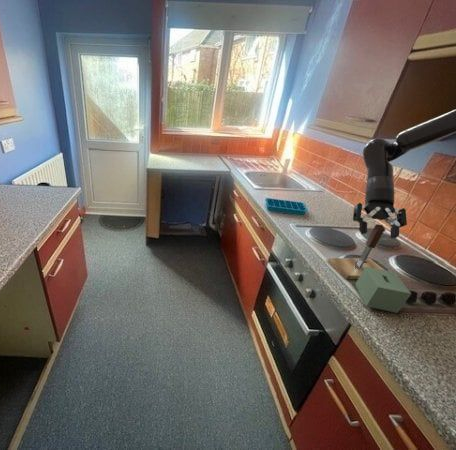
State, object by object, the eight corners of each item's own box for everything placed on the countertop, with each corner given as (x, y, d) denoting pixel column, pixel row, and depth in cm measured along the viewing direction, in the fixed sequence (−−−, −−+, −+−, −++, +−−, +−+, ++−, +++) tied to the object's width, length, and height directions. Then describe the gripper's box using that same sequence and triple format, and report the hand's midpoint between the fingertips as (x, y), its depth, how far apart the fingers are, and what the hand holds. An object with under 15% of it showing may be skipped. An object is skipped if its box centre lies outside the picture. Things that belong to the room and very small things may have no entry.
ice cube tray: (263, 202, 144) (265, 197, 142) (302, 207, 139) (303, 202, 137) (265, 210, 134) (266, 205, 132) (306, 216, 129) (308, 211, 127)
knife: (354, 263, 93) (375, 224, 84) (360, 264, 92) (382, 224, 84) (357, 267, 91) (379, 227, 82) (362, 268, 90) (385, 228, 82)
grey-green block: (354, 284, 85) (364, 266, 81) (382, 290, 83) (394, 271, 79) (366, 306, 77) (378, 287, 73) (397, 313, 75) (411, 293, 71)
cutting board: (367, 261, 97) (369, 257, 96) (389, 278, 88) (391, 275, 87) (327, 261, 96) (329, 258, 95) (346, 278, 87) (347, 275, 87)
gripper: (396, 198, 89) (396, 242, 85) (350, 193, 92) (348, 234, 89) (412, 189, 82) (413, 236, 78) (361, 184, 85) (360, 229, 81)
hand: (378, 235), depth 83 cm, fingers open, 8 cm apart
